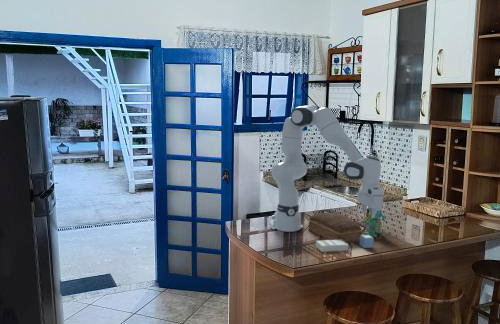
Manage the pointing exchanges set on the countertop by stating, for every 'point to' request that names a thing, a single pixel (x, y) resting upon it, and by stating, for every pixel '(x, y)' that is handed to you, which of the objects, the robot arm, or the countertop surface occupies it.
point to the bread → (335, 227)
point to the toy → (374, 224)
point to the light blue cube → (366, 241)
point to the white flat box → (331, 245)
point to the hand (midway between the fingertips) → (368, 214)
